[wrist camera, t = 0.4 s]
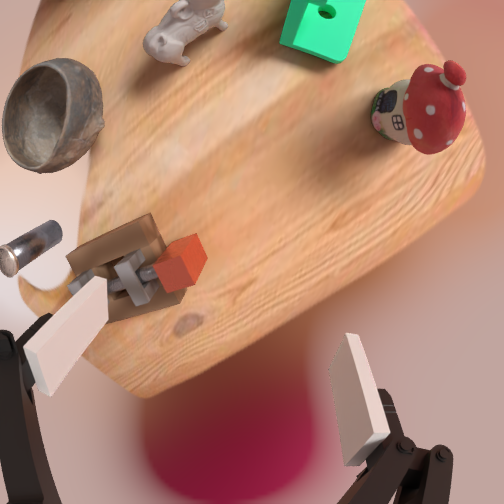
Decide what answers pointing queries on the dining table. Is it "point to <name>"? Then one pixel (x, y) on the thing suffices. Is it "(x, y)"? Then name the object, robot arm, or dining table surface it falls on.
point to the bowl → (52, 115)
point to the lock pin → (171, 266)
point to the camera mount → (322, 27)
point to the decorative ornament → (423, 108)
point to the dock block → (125, 268)
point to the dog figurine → (183, 29)
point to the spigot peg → (29, 247)
